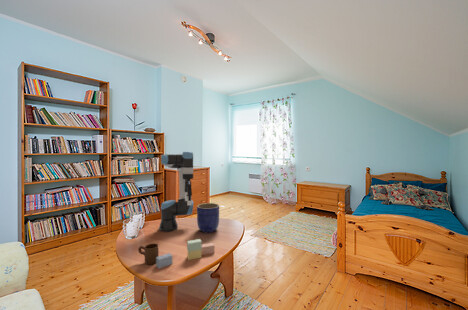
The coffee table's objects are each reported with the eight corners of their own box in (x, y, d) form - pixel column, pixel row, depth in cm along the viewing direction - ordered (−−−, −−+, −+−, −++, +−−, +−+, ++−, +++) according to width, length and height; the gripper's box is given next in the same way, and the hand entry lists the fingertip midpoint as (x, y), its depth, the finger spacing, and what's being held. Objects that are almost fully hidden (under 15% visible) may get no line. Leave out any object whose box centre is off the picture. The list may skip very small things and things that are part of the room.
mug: (134, 264, 122) (134, 248, 122) (142, 257, 130) (142, 242, 130) (154, 265, 121) (154, 249, 121) (160, 258, 128) (160, 243, 128)
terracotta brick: (202, 255, 133) (202, 247, 133) (200, 252, 137) (200, 244, 137) (214, 253, 136) (214, 245, 136) (212, 250, 140) (212, 242, 140)
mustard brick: (188, 259, 127) (188, 251, 127) (187, 256, 131) (187, 248, 131) (201, 257, 130) (201, 249, 130) (200, 254, 134) (200, 247, 134)
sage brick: (188, 251, 127) (188, 243, 127) (187, 249, 131) (187, 241, 131) (201, 249, 130) (201, 241, 130) (199, 246, 134) (199, 238, 134)
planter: (192, 232, 171) (192, 207, 170) (204, 225, 188) (204, 202, 187) (212, 235, 163) (212, 209, 163) (223, 228, 180) (222, 204, 180)
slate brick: (158, 268, 118) (158, 260, 118) (156, 265, 121) (156, 257, 121) (172, 264, 123) (172, 255, 123) (169, 261, 126) (169, 252, 126)
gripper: (180, 171, 161) (180, 199, 161) (184, 175, 137) (184, 207, 138) (190, 171, 163) (190, 198, 164) (196, 174, 140) (196, 206, 140)
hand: (188, 203), depth 151 cm, fingers open, 13 cm apart
